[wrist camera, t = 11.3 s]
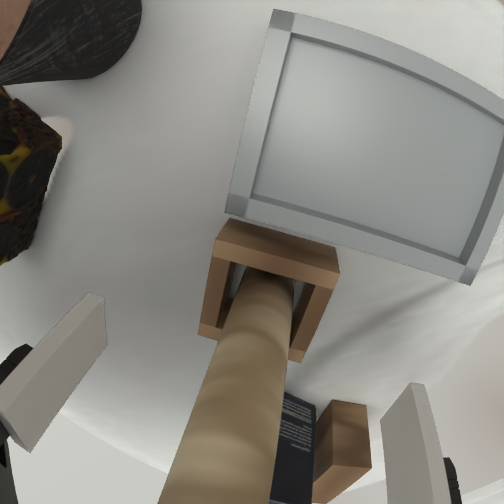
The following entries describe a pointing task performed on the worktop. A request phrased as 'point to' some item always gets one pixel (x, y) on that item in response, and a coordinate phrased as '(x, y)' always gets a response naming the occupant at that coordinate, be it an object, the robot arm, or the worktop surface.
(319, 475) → the wooden block
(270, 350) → the dowel
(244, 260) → the socket
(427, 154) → the tray
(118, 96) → the worktop surface
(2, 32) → the travel mug
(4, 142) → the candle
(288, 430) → the box
